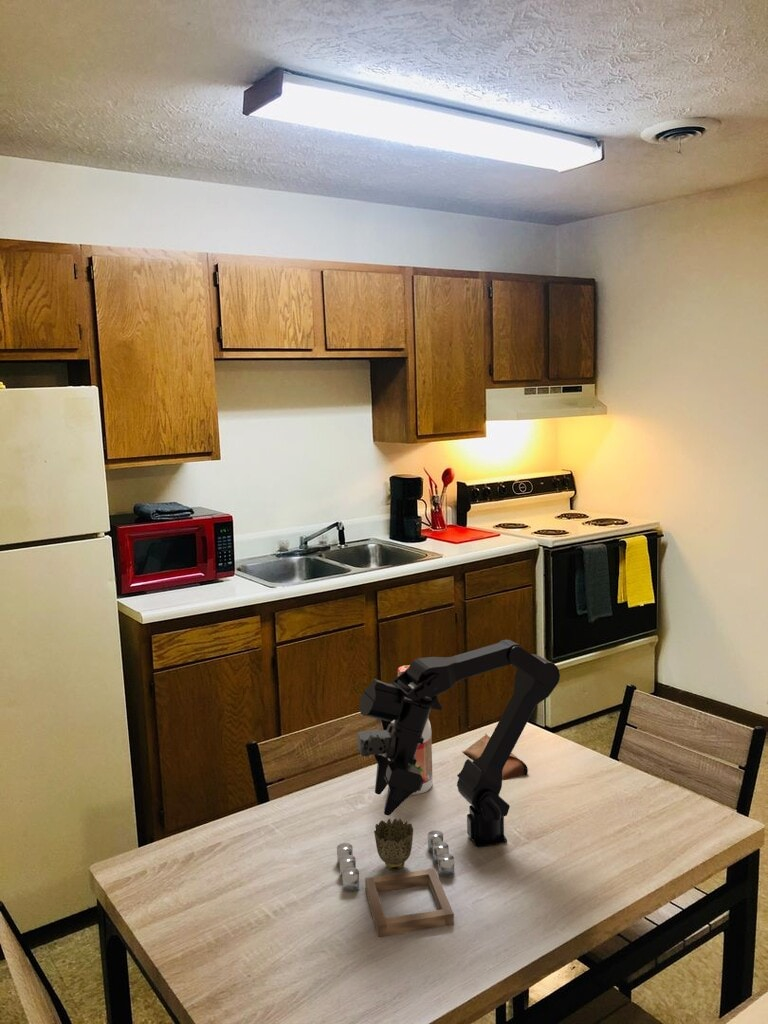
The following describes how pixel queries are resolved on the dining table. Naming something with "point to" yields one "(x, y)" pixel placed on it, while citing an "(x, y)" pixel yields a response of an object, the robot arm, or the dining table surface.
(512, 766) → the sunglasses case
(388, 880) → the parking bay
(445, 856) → the spacer posts
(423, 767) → the white plastic bottle
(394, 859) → the ornate brass lampshade
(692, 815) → the dining table surface
